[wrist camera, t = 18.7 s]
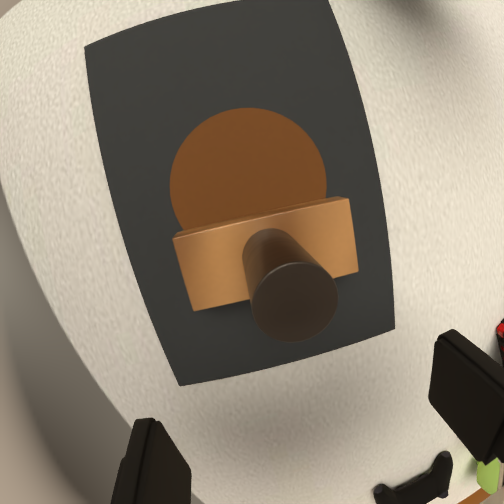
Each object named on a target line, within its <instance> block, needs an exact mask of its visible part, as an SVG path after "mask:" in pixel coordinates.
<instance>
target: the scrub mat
mask: <svg viewBox="0 0 504 504" xmlns="http://www.w3.org/2000/svg"><path fill="white" fill-rule="evenodd" d="M84 50H85V59H86V68H87V76H88V83H89V90H90V97H91V103H92V109H93V115H94V121H95V126H96V132H97V137H98V142H99V146H100V151H101V156H102V160H103V165H104V169H105V173H106V178H107V182H108V186H109V190H110V194H111V197H112V201H113V205H114V209H115V212H116V216H117V219H118V223H119V226H120V230H121V233H122V236H123V240H124V243H125V246H126V249H127V253H128V256H129V259H130V262H131V265H132V268H133V271H134V274H135V277H136V280H137V283H138V285H139V288H140V291H141V294H142V297H143V299H144V302H145V305H146V307H147V310H148V313H149V315H150V318H151V321H152V323H153V326H154V328H155V331H156V333H157V336H158V338H159V341H160V343H161V345H162V348H163V350H164V352H165V355H166V357H167V359H168V362H169V364H170V366H171V369H172V371H173V373H174V375H175V377H176V380H177V382H178V384H179V386H185V385H190V384H196V383H202V382H207V381H212V380H217V379H222V378H227V377H232V376H237V375H241V374H246V373H250V372H254V371H259V370H263V369H267V368H271V367H275V366H279V365H283V364H286V363H290V362H294V361H298V360H301V359H305V358H308V357H312V356H315V355H319V354H322V353H325V352H329V351H332V350H335V349H338V348H341V347H345V346H348V345H351V344H354V343H357V342H360V341H363V340H366V339H369V338H371V337H374V336H377V335H380V334H383V333H385V332H388V331H391V330H393V329H395V316H394V295H393V280H392V268H391V257H390V248H389V239H388V231H387V223H386V216H385V209H384V202H383V196H382V190H381V184H380V178H379V173H378V168H377V162H376V157H375V153H374V148H373V143H372V139H371V134H370V130H369V126H368V122H367V118H366V114H365V110H364V106H363V102H362V99H361V95H360V91H359V88H358V84H357V81H356V78H355V74H354V71H353V68H352V65H351V61H350V58H349V55H348V52H347V49H346V46H345V43H344V41H343V38H342V35H341V32H340V29H339V27H338V24H337V21H336V19H335V16H334V14H333V11H332V9H331V6H330V4H329V1H328V0H239V1H232V2H227V3H221V4H216V5H211V6H206V7H201V8H197V9H193V10H188V11H184V12H180V13H177V14H173V15H169V16H166V17H162V18H159V19H156V20H153V21H149V22H146V23H143V24H140V25H137V26H134V27H132V28H129V29H126V30H123V31H121V32H118V33H115V34H113V35H110V36H108V37H105V38H103V39H101V40H98V41H96V42H94V43H91V44H89V45H87V46H85V47H84ZM336 196H339V197H344V198H348V199H349V203H350V210H351V216H352V223H353V230H354V237H355V245H356V253H357V261H358V270H359V271H358V272H355V273H352V274H348V275H344V276H341V277H337V278H333V280H334V281H335V283H336V286H337V290H338V305H337V309H336V312H335V315H334V317H333V319H332V320H331V322H330V323H329V324H328V326H327V327H326V328H325V329H324V330H323V331H321V332H320V333H319V334H317V335H316V336H314V337H312V338H310V339H308V340H304V341H300V342H282V341H278V340H275V339H273V338H271V337H269V336H268V335H266V334H265V333H264V332H263V331H262V330H261V329H260V328H259V327H258V325H257V324H256V322H255V320H254V317H253V314H252V308H251V303H250V299H248V300H244V301H239V302H235V303H230V304H226V305H221V306H217V307H212V308H208V309H203V310H198V311H193V309H192V305H191V302H190V299H189V296H188V293H187V289H186V286H185V283H184V279H183V276H182V272H181V269H180V266H179V262H178V259H177V255H176V251H175V248H174V244H173V241H172V238H173V237H174V236H175V235H176V233H177V232H181V231H185V230H189V229H193V228H197V227H201V226H205V225H209V224H213V223H218V222H222V221H226V220H230V219H235V218H239V217H243V216H248V215H252V214H256V213H261V212H265V211H270V210H274V209H279V208H283V207H288V206H293V205H297V204H302V203H307V202H312V201H316V200H321V199H326V198H331V197H336Z"/></svg>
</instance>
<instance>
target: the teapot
mask: <svg viewBox="0 0 504 504" xmlns="http://www.w3.org/2000/svg"><path fill="white" fill-rule="evenodd" d="M476 464H477V465H478V468H477V482H478V484H479V485H480V487H481V488H483V489H484V490H485V491H486V492H487V493H489V494H491V495H492V494H494V493H495V492H496V491H497V487H498V480H499V472H500V463H499V462H498V458H496V459H494V460H493V461H492V462H490V463H489V464H488V465H486V466H485V465H484V463H483V462H482V461H481V462H479V461H478V462H477V463H476Z"/></svg>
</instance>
